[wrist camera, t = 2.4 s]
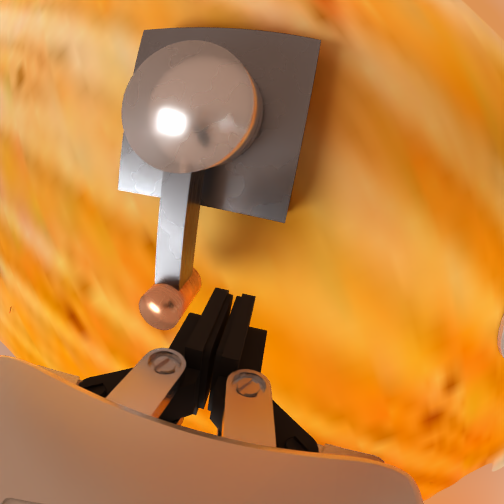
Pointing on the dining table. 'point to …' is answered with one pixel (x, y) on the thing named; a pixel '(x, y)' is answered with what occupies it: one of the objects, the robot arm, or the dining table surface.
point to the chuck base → (271, 131)
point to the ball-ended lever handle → (186, 151)
